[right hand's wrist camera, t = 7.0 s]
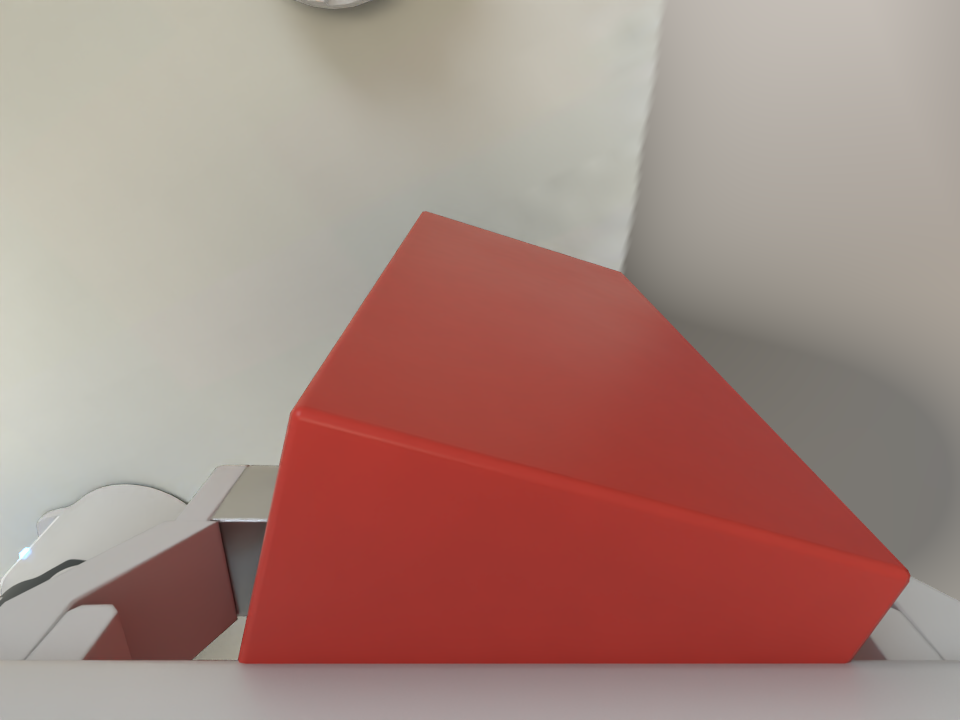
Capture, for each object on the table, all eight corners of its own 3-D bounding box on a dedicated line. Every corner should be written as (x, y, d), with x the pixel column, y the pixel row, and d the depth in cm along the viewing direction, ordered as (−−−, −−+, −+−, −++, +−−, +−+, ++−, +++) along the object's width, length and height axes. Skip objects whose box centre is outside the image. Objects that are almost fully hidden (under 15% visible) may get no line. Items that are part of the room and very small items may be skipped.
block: (623, 272, 15) (920, 577, 5) (531, 499, 17) (600, 1006, 7) (422, 209, 14) (288, 407, 4) (357, 453, 17) (177, 937, 7)
